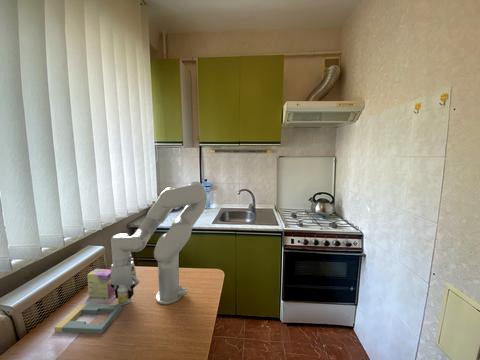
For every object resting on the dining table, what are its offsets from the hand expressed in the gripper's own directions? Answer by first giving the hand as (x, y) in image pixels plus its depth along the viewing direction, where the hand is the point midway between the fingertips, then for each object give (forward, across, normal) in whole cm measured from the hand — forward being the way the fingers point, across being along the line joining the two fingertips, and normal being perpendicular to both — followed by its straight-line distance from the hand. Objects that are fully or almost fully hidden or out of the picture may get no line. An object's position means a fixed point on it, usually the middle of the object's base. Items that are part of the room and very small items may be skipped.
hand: (124, 296), depth 99 cm
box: (+3, +14, -5) cm, 15 cm away
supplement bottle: (+3, 0, 0) cm, 3 cm away
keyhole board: (+2, +8, +12) cm, 14 cm away
